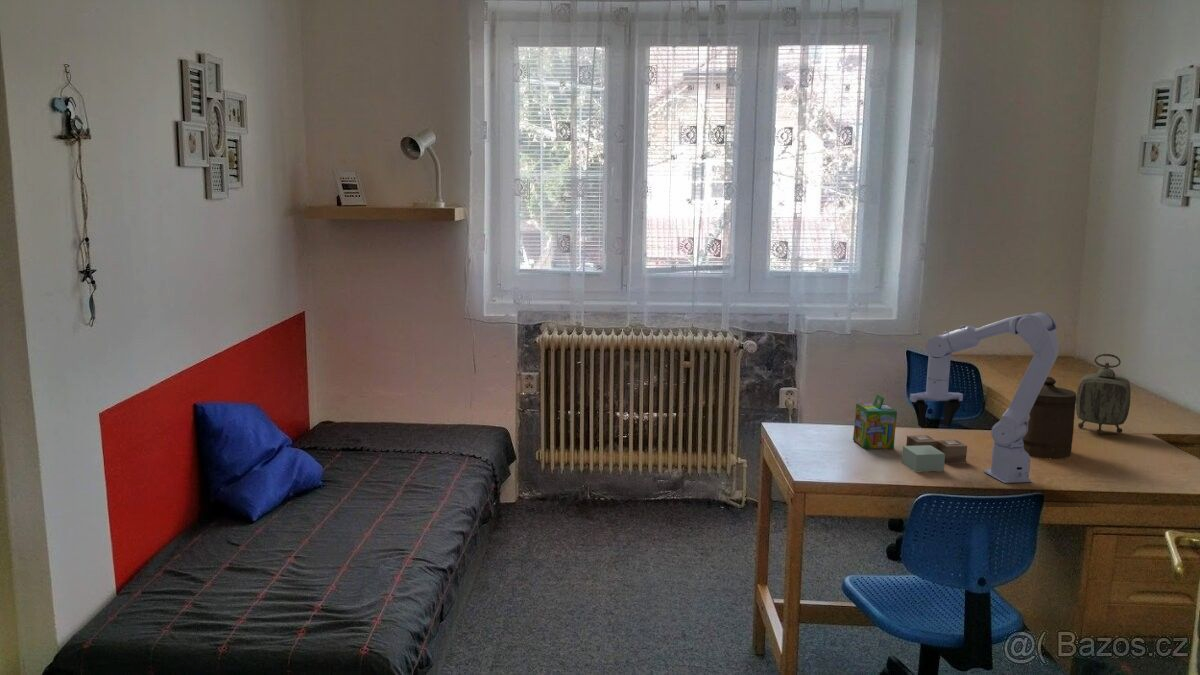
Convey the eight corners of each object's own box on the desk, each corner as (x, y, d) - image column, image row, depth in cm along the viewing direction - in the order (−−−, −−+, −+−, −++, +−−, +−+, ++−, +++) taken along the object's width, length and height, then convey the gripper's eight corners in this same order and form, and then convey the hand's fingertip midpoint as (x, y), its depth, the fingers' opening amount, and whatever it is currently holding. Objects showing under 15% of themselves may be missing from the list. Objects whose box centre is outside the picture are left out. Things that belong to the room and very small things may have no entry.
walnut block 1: (936, 458, 249) (937, 440, 248) (915, 459, 248) (917, 441, 247) (925, 452, 255) (926, 434, 254) (905, 452, 254) (907, 435, 253)
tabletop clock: (1126, 433, 277) (1135, 354, 272) (1125, 440, 269) (1135, 359, 265) (1074, 426, 284) (1082, 349, 280) (1072, 432, 276) (1080, 354, 272)
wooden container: (1030, 441, 266) (1037, 369, 262) (1080, 453, 254) (1088, 379, 251) (1003, 449, 258) (1010, 375, 254) (1054, 462, 246) (1062, 385, 242)
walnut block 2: (965, 463, 245) (967, 445, 244) (945, 463, 244) (946, 445, 243) (954, 456, 251) (955, 438, 250) (934, 457, 250) (935, 439, 249)
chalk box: (852, 440, 265) (855, 392, 262) (881, 440, 266) (885, 392, 263) (864, 449, 256) (867, 400, 253) (895, 449, 257) (898, 399, 254)
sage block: (943, 471, 237) (945, 454, 237) (915, 472, 236) (916, 454, 236) (929, 462, 245) (930, 445, 244) (901, 463, 244) (903, 446, 243)
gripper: (954, 374, 248) (950, 421, 251) (906, 375, 246) (902, 422, 249) (968, 380, 241) (964, 428, 244) (918, 381, 239) (914, 429, 242)
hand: (934, 426), depth 246 cm, fingers open, 7 cm apart
